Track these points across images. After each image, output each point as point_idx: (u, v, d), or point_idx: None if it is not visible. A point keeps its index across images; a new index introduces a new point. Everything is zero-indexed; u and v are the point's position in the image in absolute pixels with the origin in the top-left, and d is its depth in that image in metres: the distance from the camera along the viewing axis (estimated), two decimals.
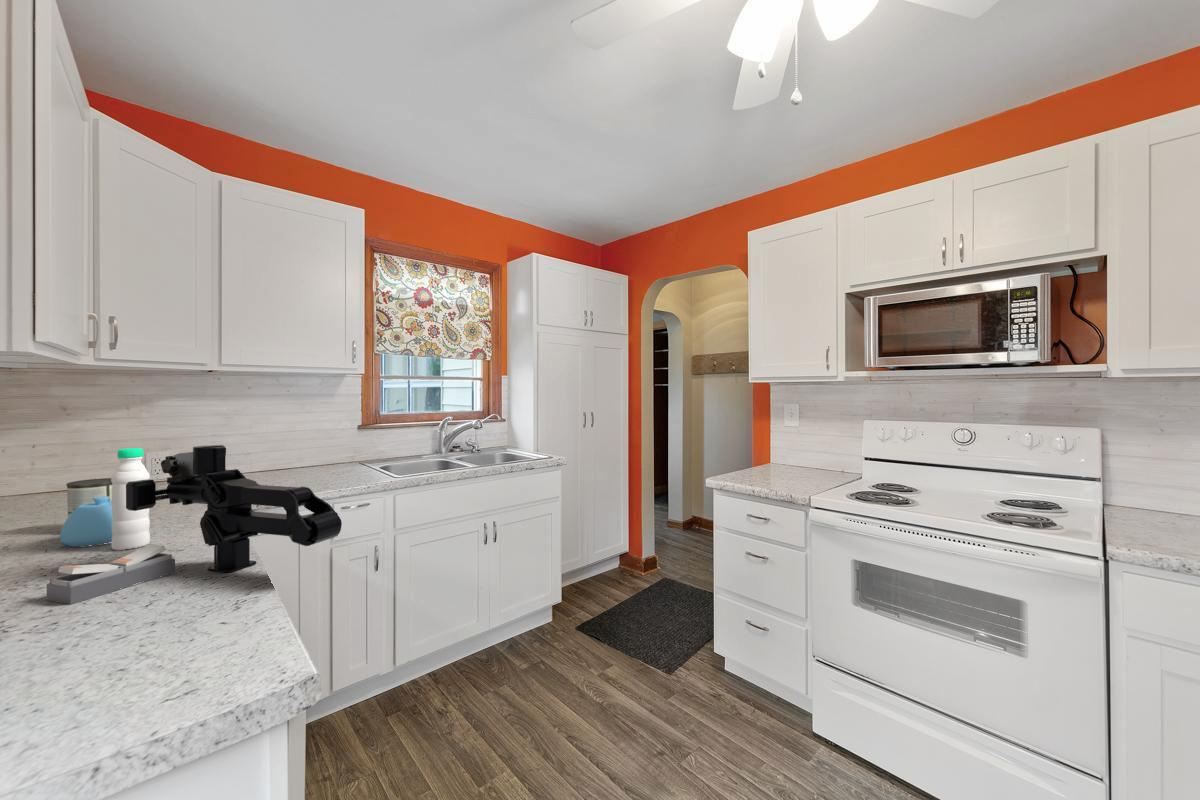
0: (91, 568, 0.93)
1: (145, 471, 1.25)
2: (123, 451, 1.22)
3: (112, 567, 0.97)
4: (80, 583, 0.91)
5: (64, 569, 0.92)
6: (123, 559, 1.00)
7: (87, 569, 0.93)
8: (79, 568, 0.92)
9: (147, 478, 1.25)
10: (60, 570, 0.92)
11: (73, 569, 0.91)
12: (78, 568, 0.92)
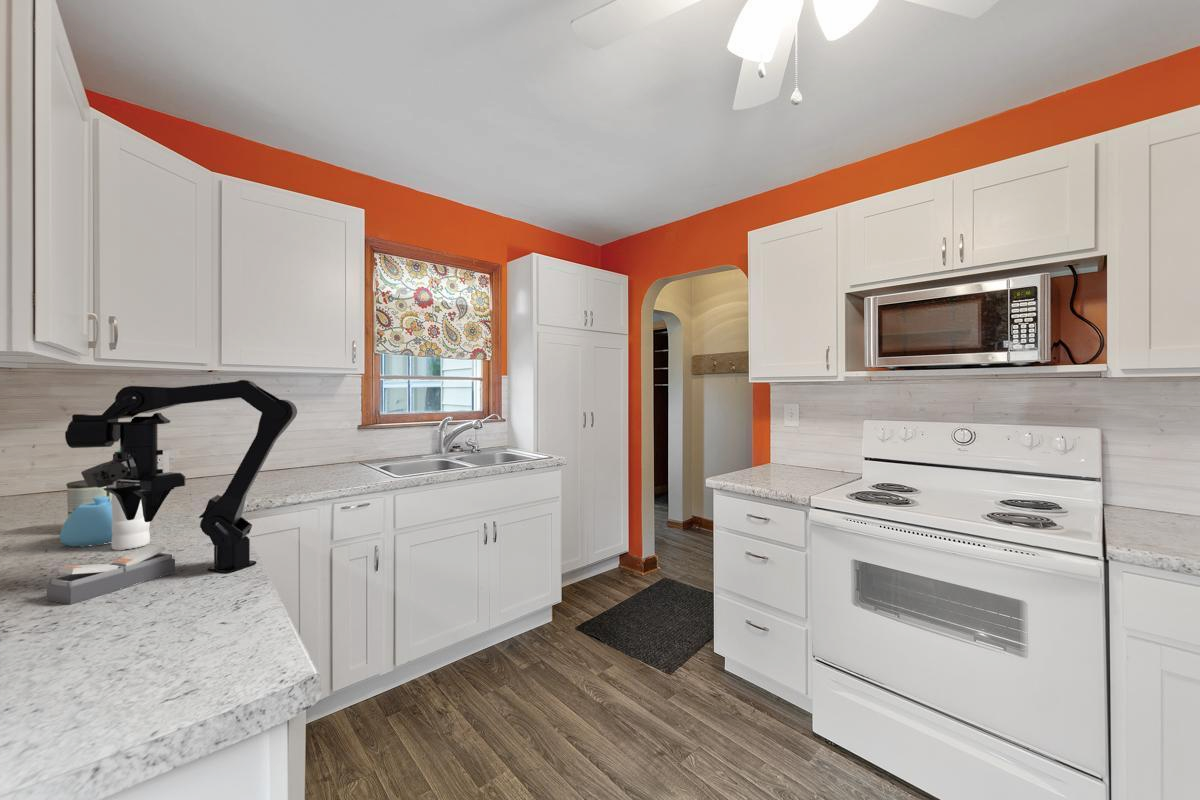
0: (91, 568, 0.93)
1: None
2: None
3: (112, 567, 0.97)
4: (80, 583, 0.91)
5: (64, 569, 0.92)
6: (123, 559, 1.00)
7: (87, 569, 0.93)
8: (79, 568, 0.92)
9: None
10: (60, 570, 0.92)
11: (73, 569, 0.91)
12: (78, 568, 0.92)
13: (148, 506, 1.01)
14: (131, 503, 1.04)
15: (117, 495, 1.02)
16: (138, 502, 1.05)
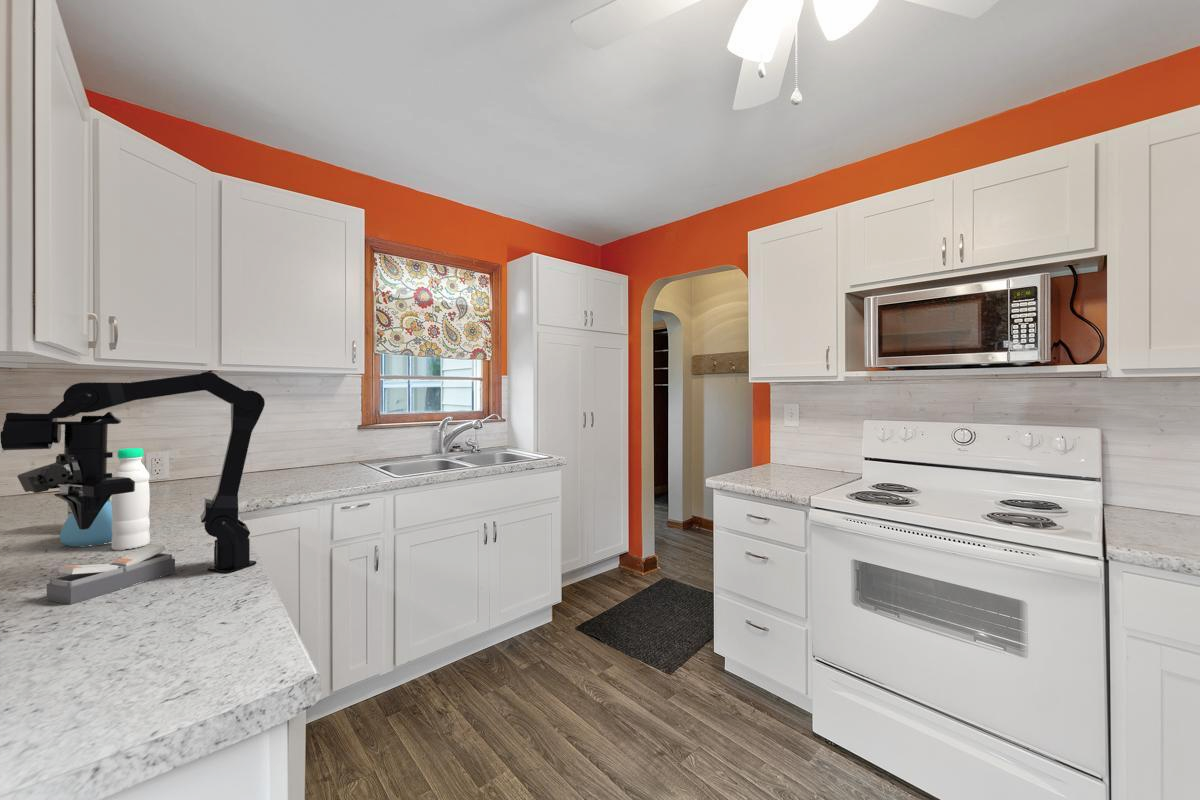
0: (91, 568, 0.93)
1: (145, 471, 1.25)
2: (123, 451, 1.22)
3: (112, 567, 0.97)
4: (80, 583, 0.91)
5: (64, 569, 0.92)
6: (123, 559, 1.00)
7: (87, 569, 0.93)
8: (79, 568, 0.92)
9: (147, 478, 1.25)
10: (60, 570, 0.92)
11: (73, 569, 0.91)
12: (78, 568, 0.92)
13: (84, 512, 0.93)
14: None
15: (69, 502, 0.93)
16: None
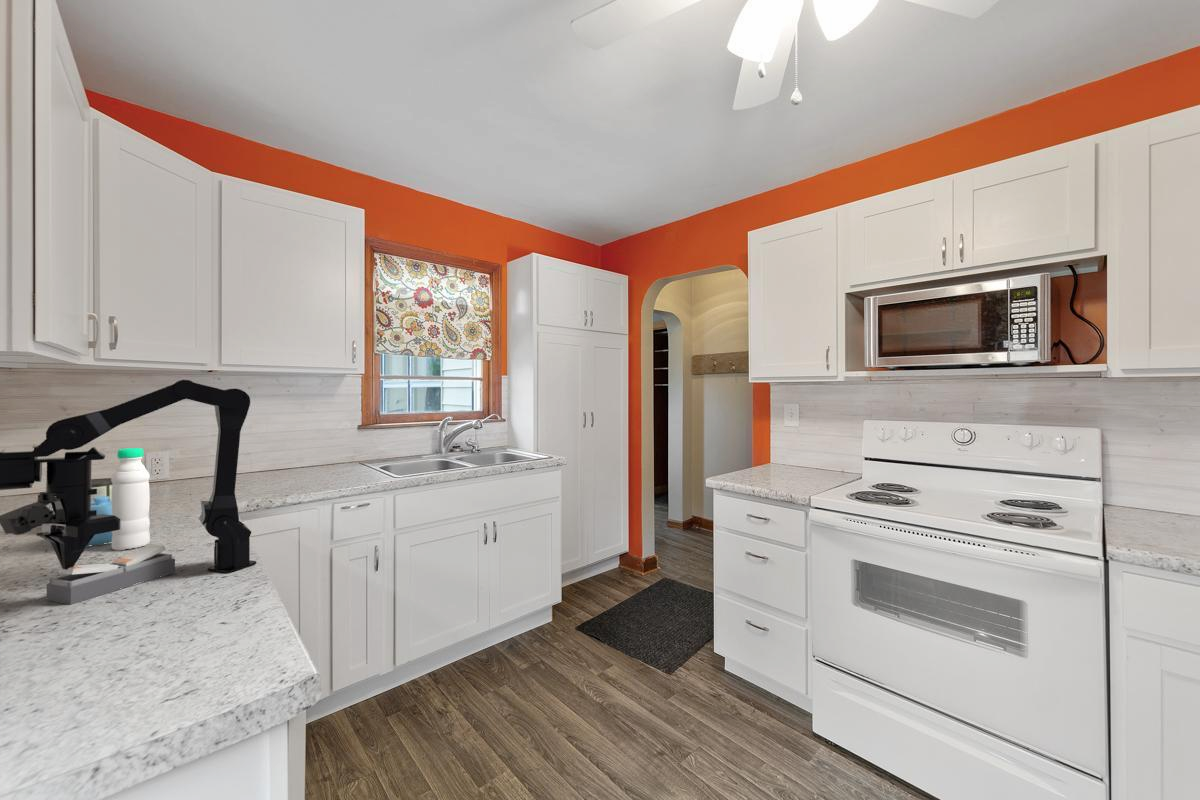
0: (91, 568, 0.93)
1: (145, 471, 1.25)
2: (123, 451, 1.22)
3: (112, 567, 0.97)
4: (80, 583, 0.91)
5: (64, 570, 0.92)
6: (123, 559, 1.00)
7: (87, 569, 0.93)
8: (79, 568, 0.92)
9: (147, 478, 1.25)
10: (60, 570, 0.92)
11: (73, 569, 0.91)
12: (78, 568, 0.92)
13: (68, 552, 0.91)
14: None
15: (52, 541, 0.91)
16: None
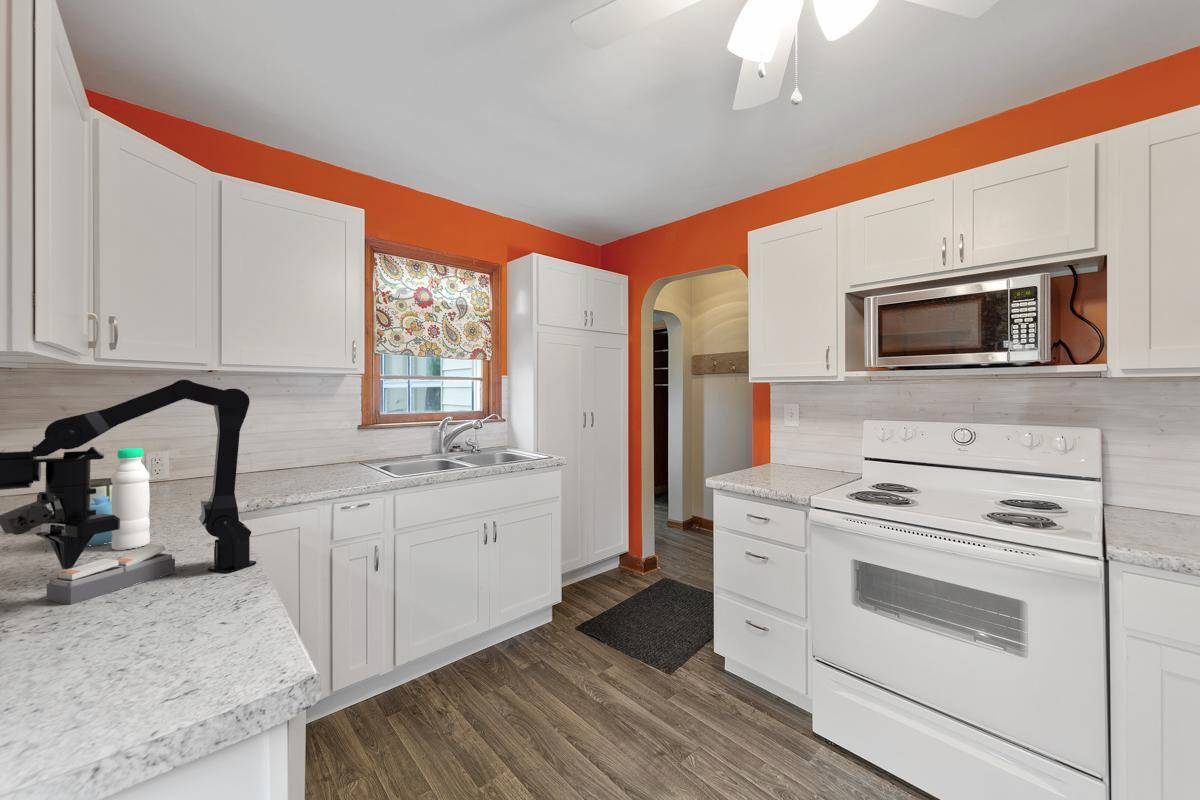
0: (90, 569, 0.93)
1: (145, 471, 1.25)
2: (123, 451, 1.22)
3: (112, 563, 0.97)
4: (80, 583, 0.91)
5: (63, 575, 0.92)
6: (123, 559, 1.00)
7: (86, 571, 0.93)
8: (78, 573, 0.92)
9: (147, 478, 1.25)
10: (60, 576, 0.92)
11: (72, 575, 0.91)
12: (77, 573, 0.92)
13: (67, 551, 0.91)
14: None
15: (51, 541, 0.91)
16: None
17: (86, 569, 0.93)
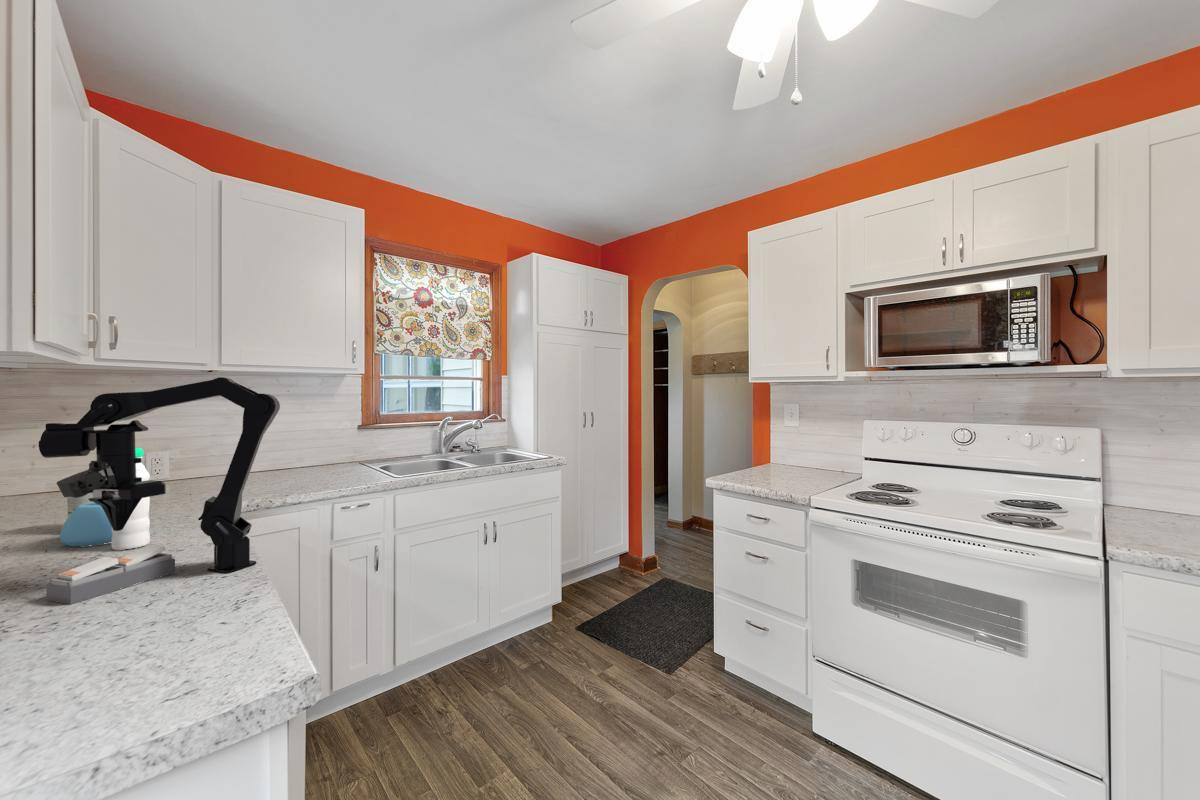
0: (90, 570, 0.93)
1: (145, 471, 1.25)
2: None
3: (112, 562, 0.97)
4: (80, 583, 0.91)
5: (63, 577, 0.92)
6: (123, 559, 1.00)
7: (86, 572, 0.93)
8: (77, 574, 0.92)
9: (147, 478, 1.25)
10: (60, 578, 0.92)
11: (72, 577, 0.91)
12: (76, 574, 0.92)
13: (118, 515, 1.00)
14: None
15: (103, 505, 0.99)
16: None
17: (86, 570, 0.93)
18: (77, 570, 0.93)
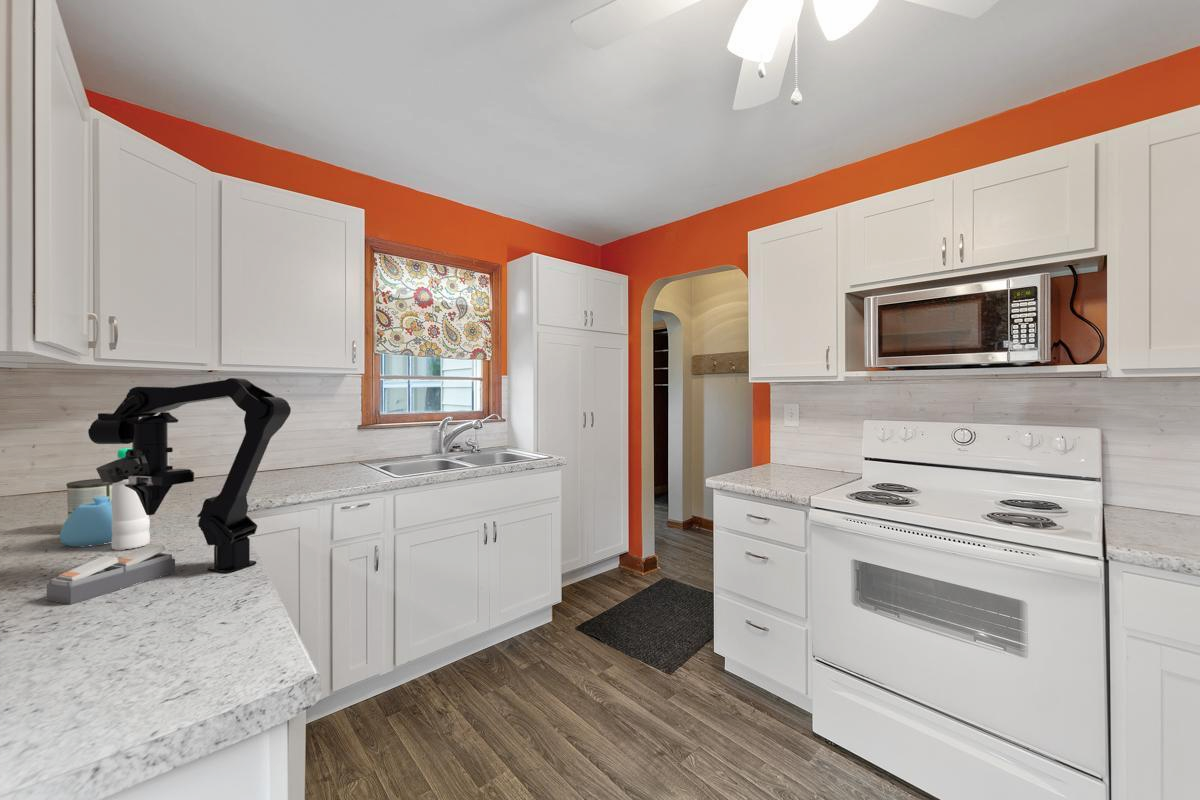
0: (90, 570, 0.93)
1: None
2: (123, 451, 1.22)
3: (111, 561, 0.96)
4: (80, 583, 0.91)
5: (64, 578, 0.92)
6: (123, 559, 1.00)
7: (86, 573, 0.93)
8: (78, 575, 0.92)
9: None
10: (61, 579, 0.92)
11: (72, 578, 0.91)
12: (77, 575, 0.92)
13: (151, 500, 1.07)
14: None
15: (137, 491, 1.07)
16: None
17: (86, 570, 0.93)
18: (77, 571, 0.93)
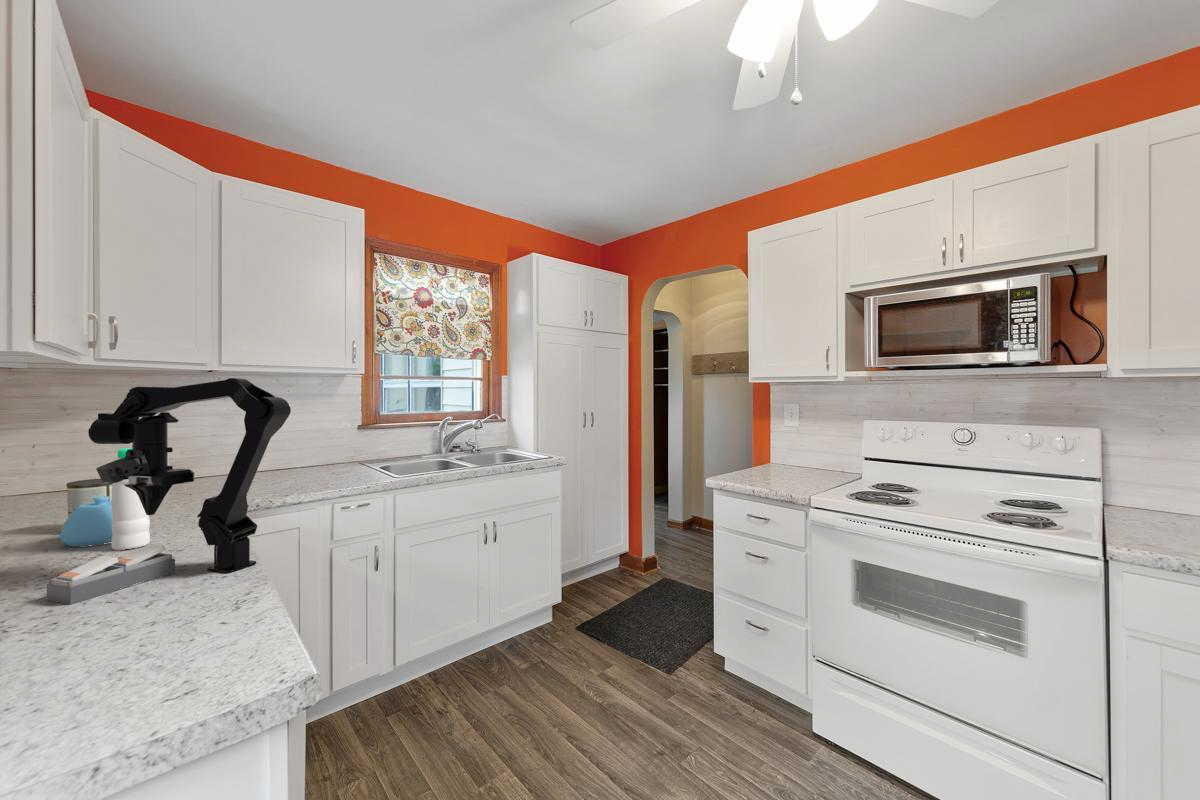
0: (90, 570, 0.93)
1: None
2: (123, 451, 1.22)
3: (111, 561, 0.96)
4: (80, 583, 0.91)
5: (64, 579, 0.92)
6: (123, 559, 1.00)
7: (87, 573, 0.93)
8: (78, 575, 0.92)
9: None
10: (61, 579, 0.92)
11: (72, 579, 0.91)
12: (77, 576, 0.92)
13: (151, 500, 1.07)
14: None
15: (137, 491, 1.07)
16: None
17: (86, 570, 0.93)
18: (77, 571, 0.93)
